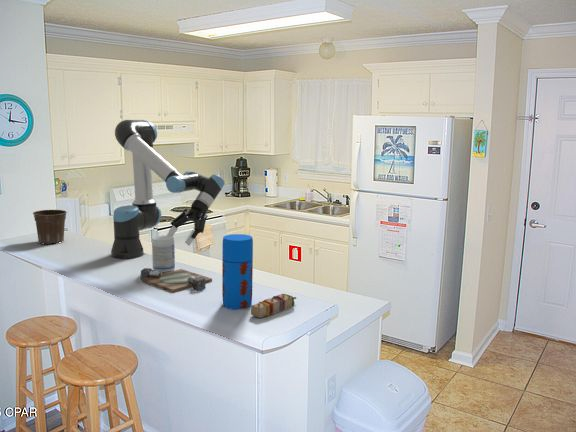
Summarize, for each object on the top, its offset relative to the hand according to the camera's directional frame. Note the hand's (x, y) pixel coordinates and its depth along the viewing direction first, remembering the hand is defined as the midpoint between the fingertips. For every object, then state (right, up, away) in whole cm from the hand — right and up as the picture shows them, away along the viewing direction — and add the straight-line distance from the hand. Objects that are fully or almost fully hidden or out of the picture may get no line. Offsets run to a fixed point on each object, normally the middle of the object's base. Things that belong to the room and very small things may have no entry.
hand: (177, 241), depth 231 cm
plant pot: (-76, -3, +44) cm, 88 cm away
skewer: (+45, -23, -46) cm, 69 cm away
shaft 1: (-8, -15, -15) cm, 22 cm away
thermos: (+31, -21, -41) cm, 56 cm away
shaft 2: (+13, -17, -24) cm, 32 cm away
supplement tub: (-5, -13, -2) cm, 14 cm away
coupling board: (+4, -16, -17) cm, 23 cm away
